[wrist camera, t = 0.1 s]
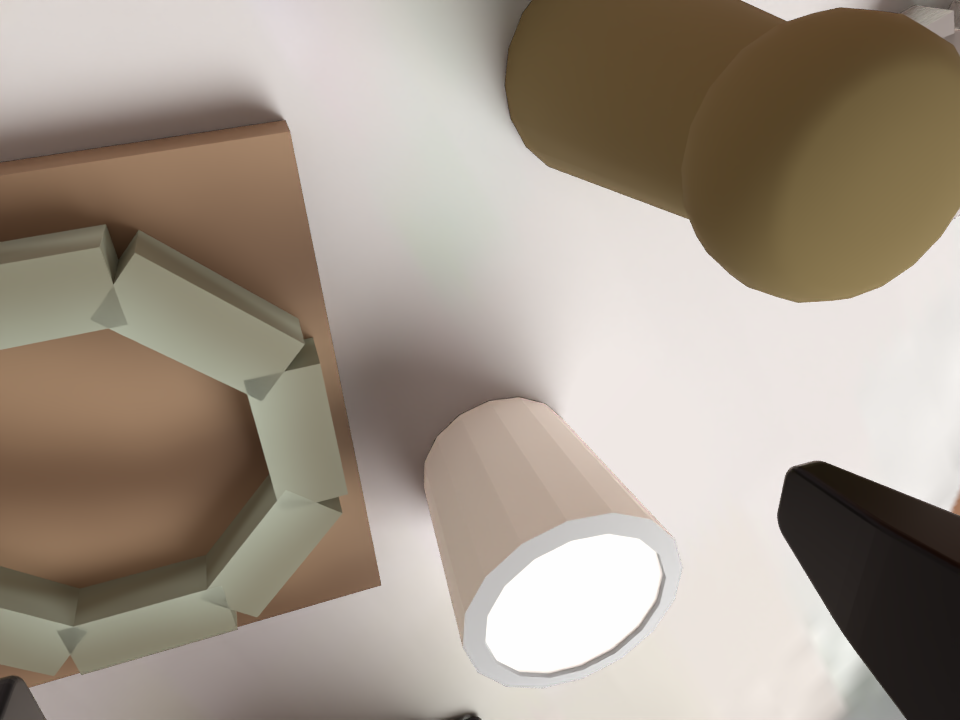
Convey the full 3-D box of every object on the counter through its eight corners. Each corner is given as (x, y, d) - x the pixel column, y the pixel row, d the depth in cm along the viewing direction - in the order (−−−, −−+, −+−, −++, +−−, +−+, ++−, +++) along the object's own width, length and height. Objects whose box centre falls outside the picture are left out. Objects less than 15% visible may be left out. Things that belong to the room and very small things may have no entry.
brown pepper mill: (461, 64, 20) (671, 193, 11) (634, -104, 20) (1005, -110, 11) (582, 217, 24) (817, 408, 15) (733, 78, 23) (1079, 191, 14)
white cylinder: (580, 358, 27) (686, 484, 21) (591, 503, 30) (683, 643, 25) (387, 415, 25) (444, 567, 20) (423, 559, 29) (480, 721, 23)
